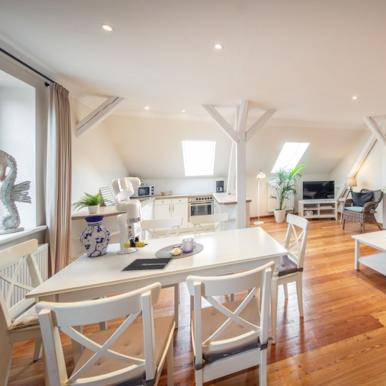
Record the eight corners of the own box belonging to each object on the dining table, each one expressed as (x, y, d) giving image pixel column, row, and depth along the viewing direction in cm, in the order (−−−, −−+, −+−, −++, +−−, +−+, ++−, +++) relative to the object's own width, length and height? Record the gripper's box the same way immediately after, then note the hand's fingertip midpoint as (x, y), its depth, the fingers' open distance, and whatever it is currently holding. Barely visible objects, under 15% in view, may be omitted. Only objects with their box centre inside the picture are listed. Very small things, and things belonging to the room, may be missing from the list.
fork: (141, 266, 154) (141, 265, 154) (142, 264, 156) (142, 263, 156) (164, 265, 156) (164, 264, 156) (166, 263, 158) (166, 263, 158)
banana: (148, 246, 157) (148, 240, 157) (146, 248, 153) (145, 242, 153) (125, 246, 156) (125, 241, 155) (122, 248, 152) (122, 243, 151)
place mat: (136, 259, 166) (136, 259, 166) (172, 258, 169) (172, 257, 169) (121, 271, 146) (121, 270, 146) (162, 269, 149) (162, 269, 149)
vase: (81, 261, 162) (78, 221, 159) (80, 254, 176) (77, 216, 173) (113, 254, 175) (110, 217, 172) (110, 248, 189) (107, 213, 186)
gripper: (132, 222, 144) (134, 250, 146) (145, 217, 161) (146, 242, 163) (120, 223, 144) (122, 250, 146) (134, 217, 160) (135, 242, 162)
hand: (134, 245), depth 154 cm, fingers closed on banana, 4 cm apart
